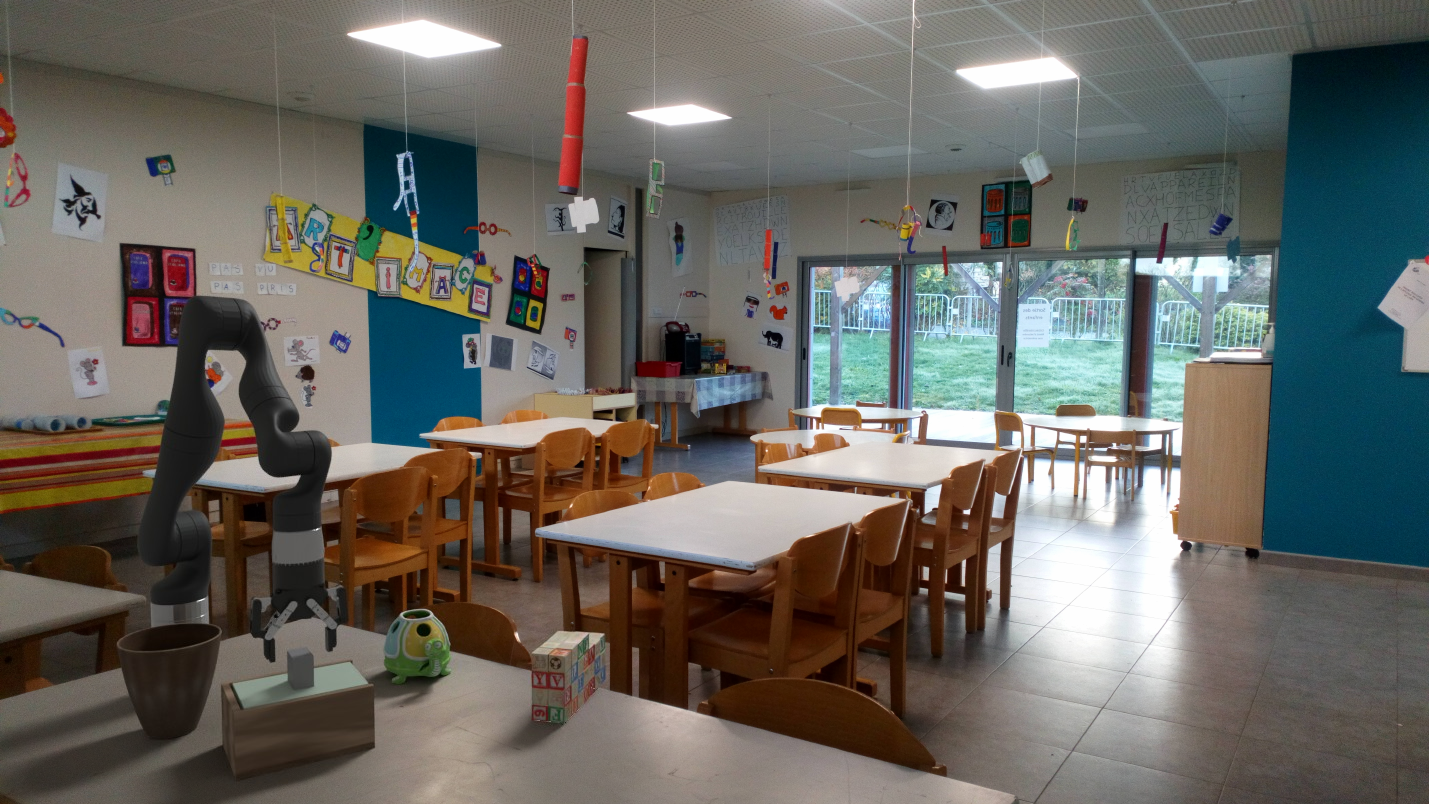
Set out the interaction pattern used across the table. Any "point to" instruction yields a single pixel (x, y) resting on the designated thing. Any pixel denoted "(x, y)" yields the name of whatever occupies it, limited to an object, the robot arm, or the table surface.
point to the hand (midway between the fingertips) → (300, 655)
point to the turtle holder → (416, 646)
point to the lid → (297, 681)
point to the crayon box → (296, 728)
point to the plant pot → (169, 675)
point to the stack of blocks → (566, 674)
